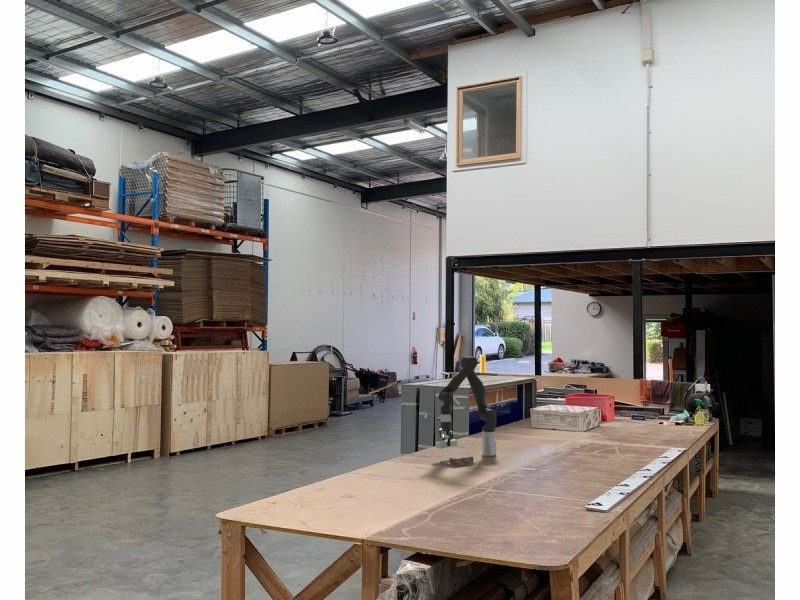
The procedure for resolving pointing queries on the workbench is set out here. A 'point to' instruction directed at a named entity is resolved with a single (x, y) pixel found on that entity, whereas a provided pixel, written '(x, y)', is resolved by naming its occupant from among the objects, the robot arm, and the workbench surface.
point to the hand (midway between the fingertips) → (446, 445)
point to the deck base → (454, 465)
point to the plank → (444, 444)
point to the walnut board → (461, 460)
